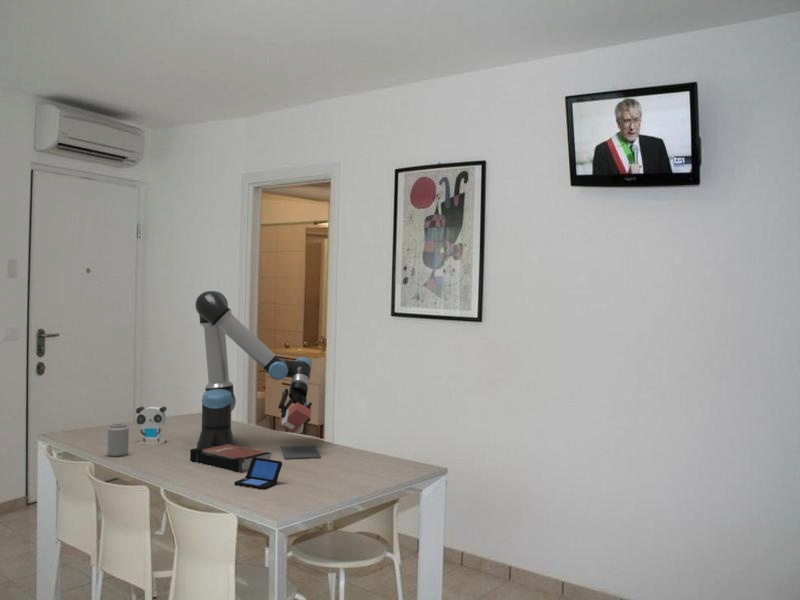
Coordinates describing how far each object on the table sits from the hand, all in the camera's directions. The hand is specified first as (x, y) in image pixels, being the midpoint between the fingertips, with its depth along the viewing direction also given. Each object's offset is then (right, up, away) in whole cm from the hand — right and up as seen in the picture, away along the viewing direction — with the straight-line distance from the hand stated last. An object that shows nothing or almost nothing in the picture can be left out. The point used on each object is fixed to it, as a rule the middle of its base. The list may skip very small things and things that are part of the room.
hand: (291, 428), depth 270 cm
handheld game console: (-4, -11, -43) cm, 44 cm away
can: (-67, -9, -7) cm, 68 cm away
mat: (+3, -11, +3) cm, 11 cm away
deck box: (+5, +7, +1) cm, 9 cm away
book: (-20, -11, -15) cm, 28 cm away
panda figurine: (-62, -9, +16) cm, 65 cm away
